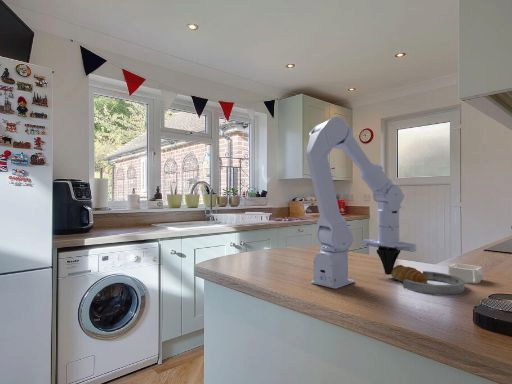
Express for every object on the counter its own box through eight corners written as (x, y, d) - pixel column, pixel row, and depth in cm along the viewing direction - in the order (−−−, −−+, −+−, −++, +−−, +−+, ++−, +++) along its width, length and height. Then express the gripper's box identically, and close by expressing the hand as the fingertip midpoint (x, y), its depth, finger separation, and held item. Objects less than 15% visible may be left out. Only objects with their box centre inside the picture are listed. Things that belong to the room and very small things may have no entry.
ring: (454, 299, 74) (453, 290, 74) (401, 288, 82) (401, 280, 82) (472, 285, 84) (471, 277, 84) (424, 277, 93) (424, 270, 93)
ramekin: (476, 285, 85) (476, 270, 85) (447, 280, 90) (447, 266, 90) (483, 280, 90) (483, 266, 90) (454, 275, 95) (454, 262, 95)
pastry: (434, 284, 86) (434, 269, 86) (416, 287, 83) (416, 272, 83) (405, 276, 94) (405, 263, 94) (388, 278, 92) (387, 265, 92)
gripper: (420, 227, 90) (420, 275, 90) (370, 223, 101) (371, 267, 101) (410, 229, 85) (410, 280, 85) (359, 225, 96) (359, 271, 96)
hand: (388, 273), depth 93 cm, fingers closed
